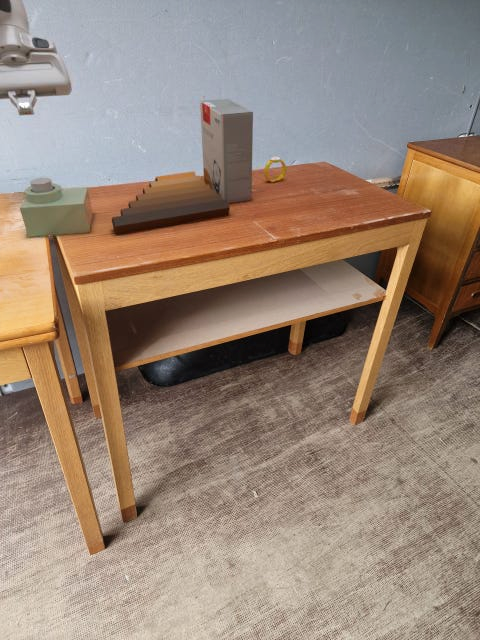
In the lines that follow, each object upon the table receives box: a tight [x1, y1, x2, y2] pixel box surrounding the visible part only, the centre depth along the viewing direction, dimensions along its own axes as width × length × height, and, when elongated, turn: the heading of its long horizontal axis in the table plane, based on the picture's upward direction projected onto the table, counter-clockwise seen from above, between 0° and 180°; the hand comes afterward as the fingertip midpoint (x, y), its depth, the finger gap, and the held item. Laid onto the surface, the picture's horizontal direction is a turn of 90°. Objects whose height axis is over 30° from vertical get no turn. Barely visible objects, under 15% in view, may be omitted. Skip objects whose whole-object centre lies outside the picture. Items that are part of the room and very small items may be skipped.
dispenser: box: [19, 182, 94, 238], centre depth 92 cm, size 12×10×8 cm
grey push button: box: [29, 177, 53, 193], centre depth 89 cm, size 4×4×2 cm
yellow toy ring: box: [263, 156, 287, 183], centre depth 116 cm, size 6×3×6 cm, turn 118°
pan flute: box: [111, 171, 231, 236], centre depth 102 cm, size 25×3×25 cm
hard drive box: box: [199, 98, 254, 204], centre depth 105 cm, size 16×8×20 cm, turn 21°
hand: (26, 113), depth 91 cm, fingers closed
